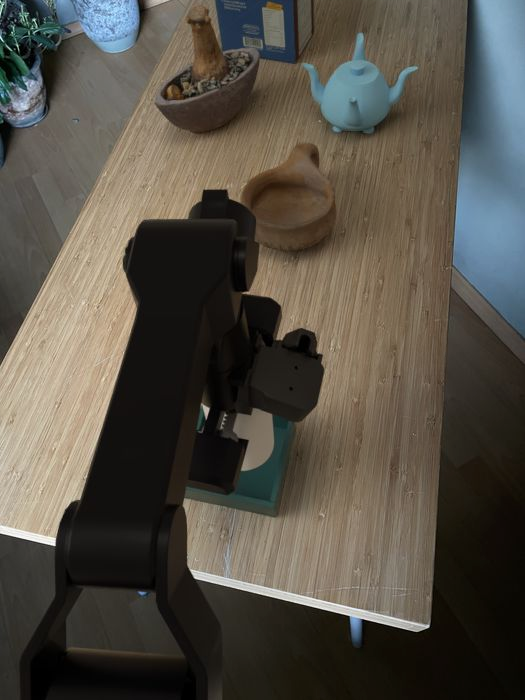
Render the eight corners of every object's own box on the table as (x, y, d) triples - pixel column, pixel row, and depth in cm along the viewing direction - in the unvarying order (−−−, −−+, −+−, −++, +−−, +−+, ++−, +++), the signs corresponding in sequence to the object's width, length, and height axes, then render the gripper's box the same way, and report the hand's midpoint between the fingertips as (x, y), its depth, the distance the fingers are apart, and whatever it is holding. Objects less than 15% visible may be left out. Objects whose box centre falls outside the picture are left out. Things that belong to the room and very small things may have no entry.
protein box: (241, 21, 118) (232, -65, 105) (314, 32, 114) (314, -56, 101) (220, 52, 113) (207, -35, 100) (296, 64, 109) (292, -24, 96)
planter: (163, 149, 100) (131, 35, 83) (186, 87, 109) (162, -29, 92) (248, 154, 98) (233, 37, 81) (265, 90, 106) (255, -28, 89)
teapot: (301, 116, 102) (299, 62, 93) (361, 84, 105) (364, 28, 96) (349, 155, 96) (351, 101, 87) (411, 120, 99) (419, 64, 90)
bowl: (242, 170, 94) (253, 119, 85) (327, 189, 96) (346, 140, 87) (229, 257, 85) (240, 208, 76) (323, 276, 87) (344, 230, 78)
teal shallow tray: (276, 517, 67) (274, 507, 63) (182, 497, 69) (175, 486, 65) (296, 427, 72) (295, 414, 69) (209, 411, 74) (203, 397, 71)
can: (220, 479, 61) (205, 423, 52) (209, 425, 65) (193, 364, 55) (280, 464, 62) (276, 406, 52) (266, 412, 66) (260, 349, 56)
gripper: (288, 475, 40) (296, 533, 54) (336, 264, 49) (332, 358, 63) (137, 444, 42) (180, 507, 56) (209, 247, 52) (232, 342, 65)
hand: (237, 424), depth 60 cm, fingers closed on can, 7 cm apart
